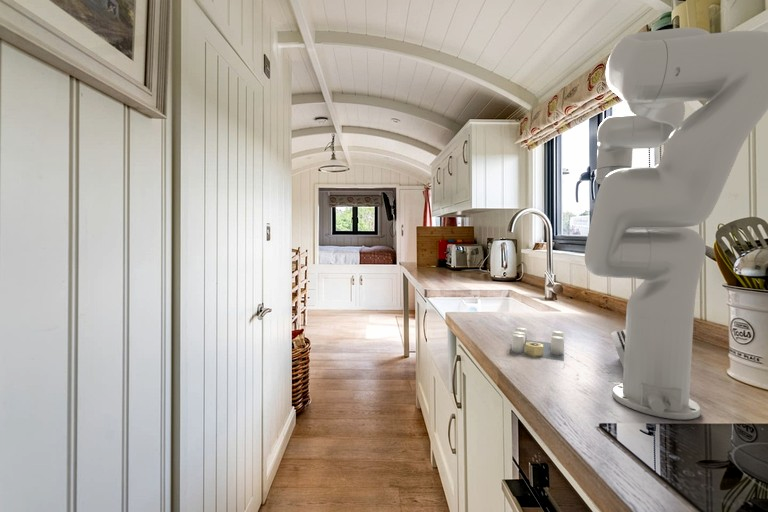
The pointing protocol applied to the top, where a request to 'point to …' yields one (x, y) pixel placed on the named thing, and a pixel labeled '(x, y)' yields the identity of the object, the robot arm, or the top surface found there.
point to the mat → (545, 351)
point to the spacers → (521, 338)
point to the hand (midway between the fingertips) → (609, 249)
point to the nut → (534, 349)
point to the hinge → (619, 344)
